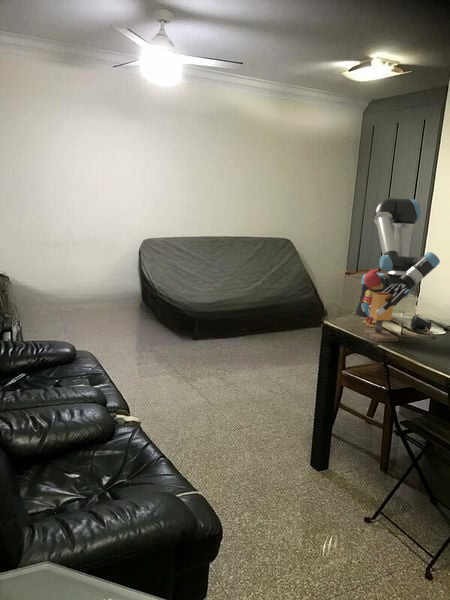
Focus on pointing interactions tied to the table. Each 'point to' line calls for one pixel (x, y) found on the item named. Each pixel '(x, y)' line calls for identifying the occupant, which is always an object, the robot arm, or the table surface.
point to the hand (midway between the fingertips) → (374, 310)
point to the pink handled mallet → (421, 325)
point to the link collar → (377, 302)
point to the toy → (370, 294)
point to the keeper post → (380, 333)
